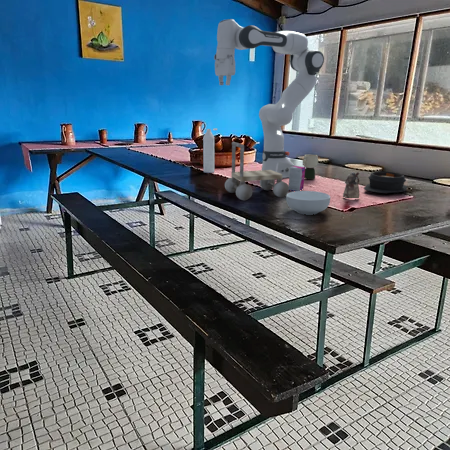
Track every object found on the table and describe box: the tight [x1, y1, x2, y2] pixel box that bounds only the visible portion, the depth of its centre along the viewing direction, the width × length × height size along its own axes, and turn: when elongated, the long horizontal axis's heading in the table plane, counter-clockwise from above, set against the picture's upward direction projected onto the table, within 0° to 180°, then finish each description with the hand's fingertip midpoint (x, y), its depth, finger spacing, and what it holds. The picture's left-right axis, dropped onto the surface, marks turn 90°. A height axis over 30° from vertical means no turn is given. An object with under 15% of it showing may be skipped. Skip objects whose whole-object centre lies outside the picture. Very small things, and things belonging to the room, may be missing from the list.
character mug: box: [302, 154, 319, 180], centre depth 221 cm, size 11×7×13 cm, turn 122°
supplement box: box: [288, 165, 306, 192], centre depth 195 cm, size 6×6×12 cm
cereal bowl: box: [285, 190, 331, 216], centre depth 160 cm, size 17×17×7 cm
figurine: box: [342, 171, 360, 199], centre depth 181 cm, size 7×7×12 cm
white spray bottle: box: [202, 128, 218, 174], centre depth 238 cm, size 9×6×25 cm
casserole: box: [363, 171, 408, 194], centre depth 196 cm, size 25×19×8 cm
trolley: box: [224, 141, 290, 201], centre depth 185 cm, size 25×16×24 cm, turn 110°
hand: (224, 85), depth 205 cm, fingers open, 8 cm apart
